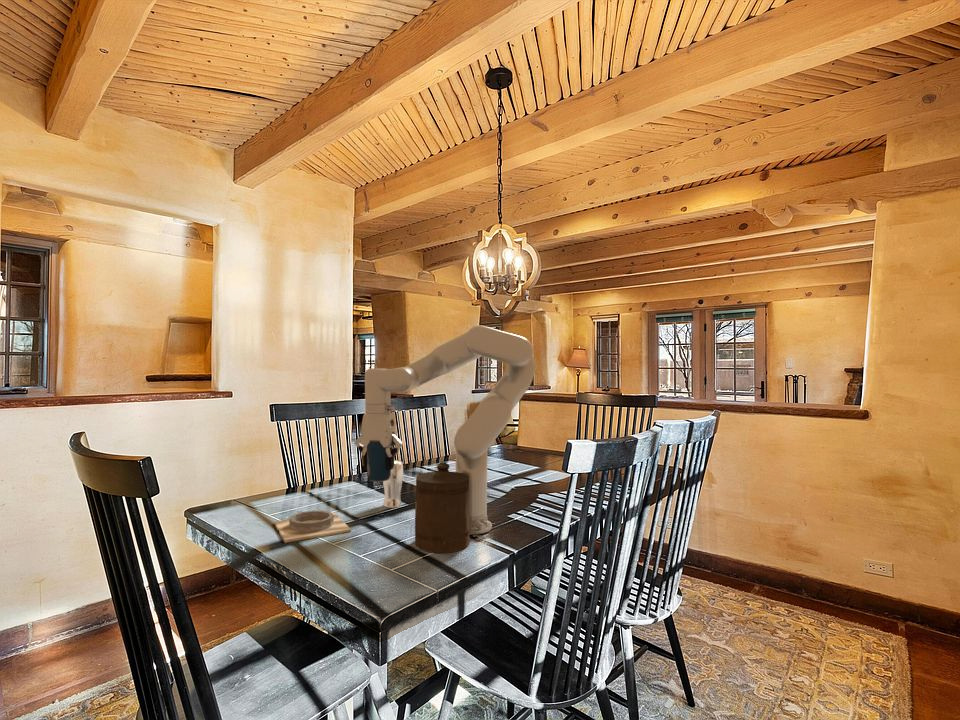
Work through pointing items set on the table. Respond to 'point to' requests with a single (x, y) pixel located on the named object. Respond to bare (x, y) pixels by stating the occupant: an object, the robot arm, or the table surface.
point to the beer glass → (394, 486)
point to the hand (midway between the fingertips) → (378, 468)
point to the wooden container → (442, 511)
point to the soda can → (377, 462)
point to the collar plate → (309, 535)
